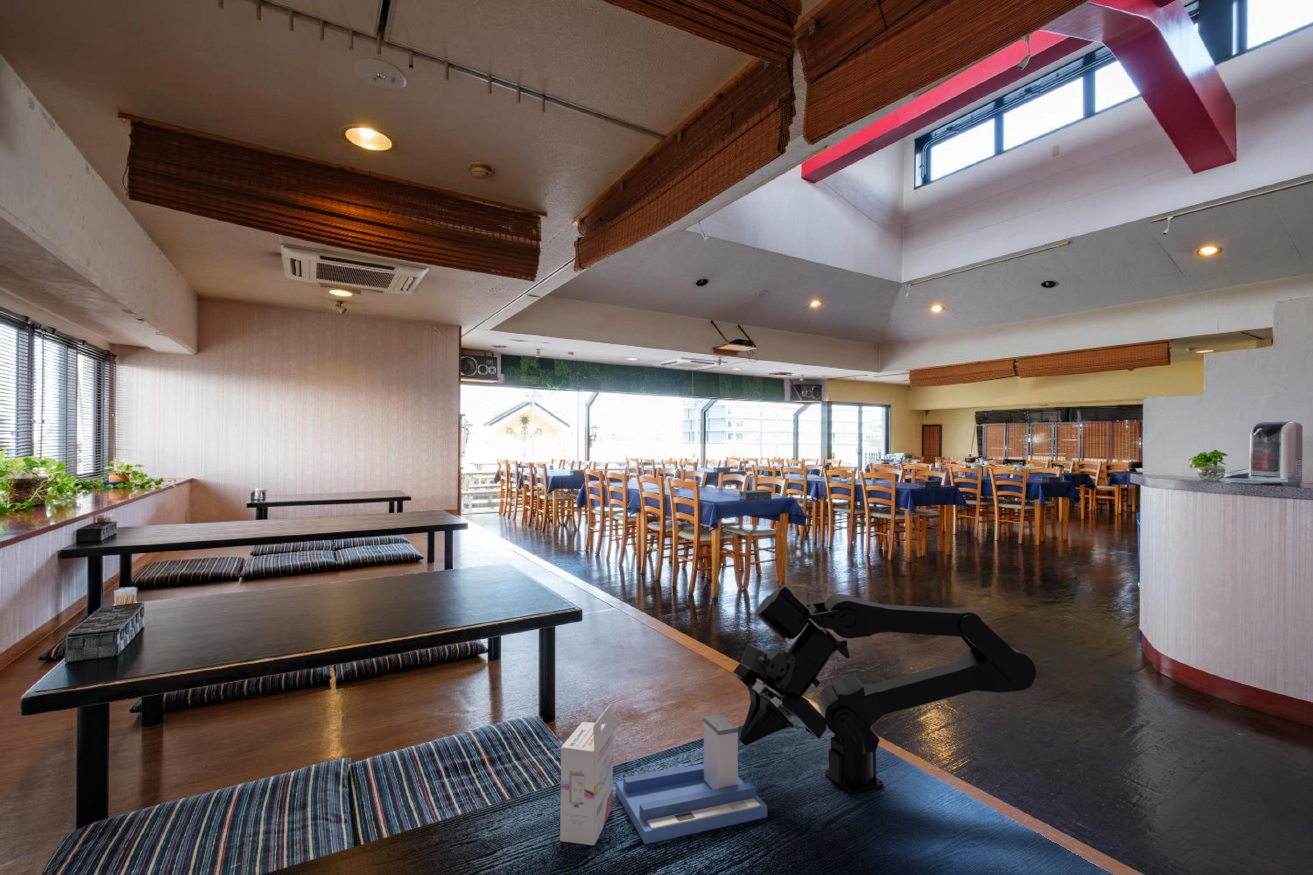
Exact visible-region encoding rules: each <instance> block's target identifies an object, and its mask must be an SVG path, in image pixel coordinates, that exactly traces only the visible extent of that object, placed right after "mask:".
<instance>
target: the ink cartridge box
mask: <svg viewBox="0 0 1313 875" xmlns="http://www.w3.org/2000/svg"><path fill="white" fill-rule="evenodd" d="M613 718H614V717H613V706H612V703H610V704H609V705H608V706H607V707H606V709H605V710H604V711H603V712H602V714H601V715H600V716H599V718H598V719H597V720H596V721H595V722H588V721H581V723H580V724H579V725H578V727H577V728H576V729H575V730H574V731H573V732H572V734H570V736H569V737H568V739H567V740H566V741H565V742H563V744H562V745H561V747H560V812H559V813H560V814H559V815H560V819H559V821H560V823H559V824H560V826H559V828H560V829H559V830H560V832H559V833H560V834H559V841H560V842H564V843H573V844H579V845H580V844H581V845H587V846H595V845H596V843H597V841H598V839H599V837H600V835H601V833H602V831H603V829H604V826H605V824H606V822H607V821H608V818H609V816H610V814H611V811H612V810H613V785H614V784H613V782H614V781H613V778H614V777H613V776H614V774H613V773H614V720H613ZM604 721H605V723H604Z"/></svg>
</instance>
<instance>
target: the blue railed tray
mask: <svg viewBox="0 0 1313 875" xmlns="http://www.w3.org/2000/svg"><path fill="white" fill-rule="evenodd" d="M622 779H623V780H620V781H619V780H618V781H615V793H616V795H617V797H618V800H619V801H620V803H621V805H622V806H623V808H624V810H625V812H626V814H627V815H628V817H629V819H630V821H631V822H632V824H633V827H634V828H635V830H636V831H637V833H638V835H639V836H640V839H641V840H642V842H643V844H644V845H647V844H652V843H658V842H662V841H666V840H671V839H676V838H679V837H684V836H689V835H692V834H698V833H702V832H706V831H711V830H714V829H715V830H716V829H719V828H724V827H729V826H733V825H738V824H742V823H746V822H751V821H752V822H753V821H756V820H760V819H764V818H765V819H766V818H767V817H768V805H767V804H766V803H765V802H764V801H763V800H762V799H761V798H760V797H759V796H758V795H757V786H755V784H753V782H751V781H750V782H744V780H742V779H741V778H740V777H739V776H738V785H734V786H729V787H724V788H719V789H714V790H713V789H712V788H711V787H710V786H709V785H708V783H707V782H706V781H705V780H704V762H703V763H699V764H694V765H687V766H683V767H677V768H670V769H665V770H659V771H655V772H654V771H653V772H648V773H641V774H637V775H636V774H635V775H632V776H631V775H629V776H626V777H623V778H622Z"/></svg>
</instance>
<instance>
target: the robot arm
mask: <svg viewBox="0 0 1313 875" xmlns="http://www.w3.org/2000/svg"><path fill="white" fill-rule="evenodd" d="M754 615H755V617H757V618H758V619H759V620H761V622H762V623H763V624H764V625H766V626H767V627H768V628H769V629H770V630H771V632H773V633H774V634H775V635H776V636H777V637H778V638H779V639H780V640H786V639H787V640H794V639H795V638H796V639H795V640H794V641H793V643H792V644H791V645H790V647H789V648H788V649H787V650H786V651H785V650H783V649H780V650H775V649H771V650H770V651H769V652H767V651H765V650H763V649H760V648H759V647H756V646H754V645H752V644H750V643H746V644H747V645H746V648H745V650H744V653H743V655H742V657H741V661H740V663H738V665H737V666H736V668H735V669H734V670H733V671H732V673H733V675H734V676H735V677H736V678H738V680H739V681H740V682H741V683H742V684H743V685H744V686H745V687H746V688H747V691H748V693H749V699H750V704H749V709H748V711H747V715H746V718H745V720H744V721H745V722H744V724H743V727H742V729H741V733H740V736H739V738H738V739H739V740H738V741H739V742H740V743H741V744H743V746H745V747H746V746H749V745H750V744H753V743H754V742H756V741H757V742H758V741H759V740H761V739H763V738H766V737H767V736H770V735H771V734H774V733H777V732H779V731H783V730H784V729H787V728H788V729H789V728H790V729H793V728H794V727H795V725H794V724H793V720H794V719H795V718H797V719H798V720H799V721H800V723H801V724H802V725H803V726H805V731H806V732H807V733H808V734H809V735H811V736H812V737H814V738H815V739H816V740H818V741H819V740H821V738H822V736H823V735H824V733H825V732H826V731H827V728H828V729H829V730H830V732H832V733H833V734H834V736H831V737H830V748H828V769H827V768H826V769H825V770H824V775H826V776H827V777H828V778H829V779H831V780H832V781H833V782H835V783H836V784H838V786H840V787H841V788H842V789H844V790H846V791H847V793H850V794H856V793H860V792H864V791H865V792H866V791H869V790H873V789H879V788H883V787H885V782H884V781H883V780H881V779H880V778H879V777H877V749H878V746H879V744H880V738H879V736H878V734H877V733H876V731H875V730H874V729H873V726H874V725H876V723H877V722H879V721H880V720H881V719H882V718H884V717H885V716H888V715H891V714H894V713H897V712H902V711H905V710H911V709H913V708H918V707H921V706H924V705H928V704H932V703H936V702H939V701H943V700H947V699H951V698H955V697H957V696H962V695H965V694H969V693H973V692H980V693H981V692H983V693H993V694H995V693H996V694H1006V693H1018V692H1025V691H1027V690H1029V689H1030V688H1032V687H1033V686H1034V683H1035V682H1034V681H1035V680H1036V677H1037V670H1036V665H1035V663H1034V662H1033V660H1032V659H1031V658H1030V657H1029V656H1028V655H1026V654H1025V653H1022V652H1021V651H1019V650H1017V649H1015V648H1014V647H1012V646H1010V644H1008V643H1007V642H1005V640H1004V639H1002V637H1000V636H999V634H997V633H996V632H995V631H994V630H992V629H991V627H989V626H988V625H987V624H986V623H985V622H984V621H983V619H982V617H980V616H979V615H978V614H976V613H975V612H973V611H971V610H968V609H967V608H964V607H956V608H946V607H933V606H932V607H929V606H913V605H899V604H898V605H896V604H881V603H877V602H873V601H870V600H867V599H863V598H860V597H858V596H857V597H856V596H851V595H847V594H843V593H834V594H832V595H830V596H829V597H828V598H827V599H826V600H825V601H820V602H814V603H807V604H804V603H803V602H802V601H801V600H800V599H799V598H798V597H797V596H795V594H794V593H793V592H792V591H791V589H790V588H789V587H788V586H787V585H786V584H782V585H781V586H780V587H779V588H778V589H776V590H775V591H773V592H772V593H771V594H770V595H767V596H766V597H764V599H763V600H762V601H761V603H760V604H759V605H758V607H757V608H756V610H755V613H754ZM812 621H813V622H812ZM829 630H832V631H833V632H834V633H835V634H836V635H837V636H839V637H841V638H845V639H857V638H867V637H872V636H874V635H878V634H882V633H883V634H884V633H895V634H896V633H898V634H915V635H930V636H942V637H943V636H946V637H959V638H960V639H961V640H962V641H963V643H964V644H965V645H966V646H967V647H968V648H969V650H968V651H967V653H965V654H964V655H963V656H962V657H961V658H960V659H959V660H956V661H953V662H950V663H946V664H942V665H938V666H935V667H930V668H928V669H927V668H926V669H923V670H921V671H917V672H912V673H909V674H905V675H903V676H902V675H901V676H898V677H895V678H891V679H888V680H883V681H879V682H876V683H873V684H872V683H870V684H869V683H867V684H865V683H861V681H860V680H859V679H858V678H857V676H856V675H855V674H853V675H848V676H846V677H845V678H841V679H838V680H835V679H830V680H829V683H830V684H828V685H826V686H824V687H823V688H822V689H821V691H820V692H819V695H818V700H817V706H818V709H817V708H816V707H815V706H814V704H812V703H811V702H810V701H809V700H808V699H806V698H805V697H804V695H805V693H806V692H807V691H808V690H809V689H810V687H814V688H815V689H817V688H818V687H819V685H820V684H821V682H820V680H818V676H819V675H820V673H821V672H822V670H823V669H824V668H825V667H826V665H827V663H828V662H830V660H831V658H832V657H833V656H834V655H835V656H836V657H837V658H841V659H850V657H851V656H850V652H849V648H848V641H847V640H845V639H838V638H837V637H836V636H835V635H833V634H832V633H831V632H830V631H829ZM818 710H819V711H818Z"/></svg>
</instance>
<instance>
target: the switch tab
mask: <svg viewBox="0 0 1313 875" xmlns="http://www.w3.org/2000/svg"><path fill="white" fill-rule="evenodd" d="M702 721H703V763H704V780H705V781H706V782H707V783H708V785H709V786H710V787H711V788H712V789H713V790H714V789H719V788H724V787H729V786H734V785H738V777H739V774H738V773H739V772H738V771H739V770H738V768H739V766H738V765H739V763H738V760H739V759H738V758H739V756H738V755H739V752H738V751H739V749H738V748H739V747H738V745H739V743H738V741H739V740H738V739H739V738H738V736H739V734H738V733H739V732H740V730H739V729H740V728H739V727H738V726H737V725H736V724H735V723H733V722H732V721H731V720H730V719H729V718H727V717H726V716H725V715H724V714H713V715H707V716H703V717H702Z"/></svg>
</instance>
